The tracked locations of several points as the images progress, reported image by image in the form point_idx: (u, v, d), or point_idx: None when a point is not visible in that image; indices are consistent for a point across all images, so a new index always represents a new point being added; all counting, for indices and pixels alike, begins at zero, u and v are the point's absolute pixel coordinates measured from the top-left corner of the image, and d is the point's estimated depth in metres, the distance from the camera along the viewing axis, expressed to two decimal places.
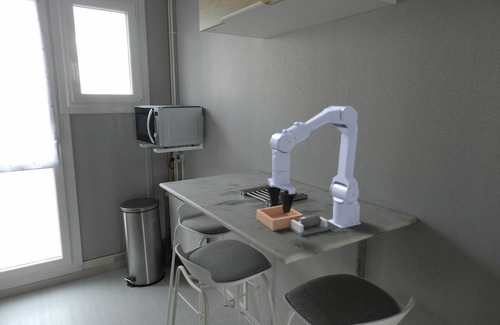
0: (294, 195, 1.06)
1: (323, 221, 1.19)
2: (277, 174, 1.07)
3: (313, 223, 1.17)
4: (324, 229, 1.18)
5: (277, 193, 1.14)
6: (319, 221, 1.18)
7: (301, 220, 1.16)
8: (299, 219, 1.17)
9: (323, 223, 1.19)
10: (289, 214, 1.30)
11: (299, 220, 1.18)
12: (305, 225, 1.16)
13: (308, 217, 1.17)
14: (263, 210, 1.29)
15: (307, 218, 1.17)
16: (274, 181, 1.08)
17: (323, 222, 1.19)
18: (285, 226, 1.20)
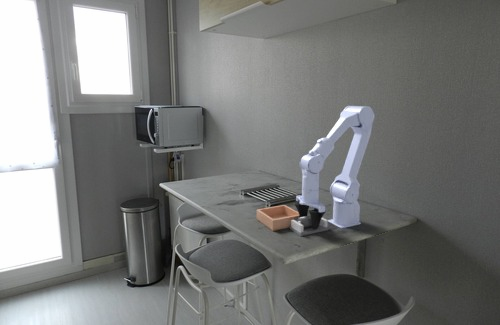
0: (323, 213, 1.13)
1: (323, 221, 1.19)
2: (307, 193, 1.14)
3: None
4: (324, 229, 1.18)
5: (306, 210, 1.21)
6: None
7: (300, 219, 1.17)
8: (298, 219, 1.18)
9: (323, 223, 1.19)
10: (289, 214, 1.30)
11: (298, 220, 1.18)
12: (304, 224, 1.16)
13: (307, 216, 1.18)
14: (263, 210, 1.29)
15: (306, 217, 1.18)
16: (304, 199, 1.15)
17: (323, 222, 1.19)
18: (285, 226, 1.20)
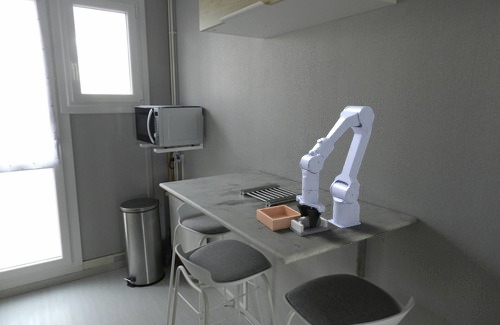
0: (320, 211, 1.14)
1: (323, 221, 1.19)
2: (307, 193, 1.14)
3: None
4: (324, 229, 1.18)
5: None
6: (319, 221, 1.18)
7: (301, 220, 1.16)
8: (299, 219, 1.17)
9: (323, 223, 1.19)
10: (289, 214, 1.30)
11: (299, 220, 1.17)
12: (305, 225, 1.16)
13: (308, 217, 1.17)
14: (263, 210, 1.29)
15: (307, 218, 1.17)
16: (304, 199, 1.15)
17: (323, 222, 1.19)
18: (285, 226, 1.20)
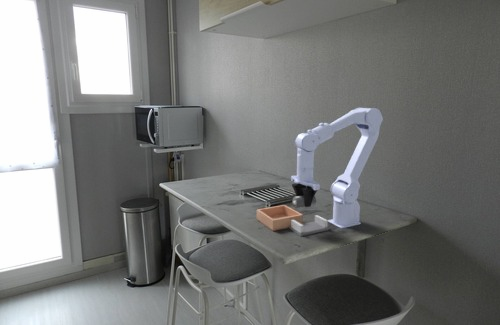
0: (315, 190, 1.14)
1: (323, 221, 1.19)
2: (302, 172, 1.14)
3: None
4: (324, 229, 1.18)
5: (303, 191, 1.20)
6: (314, 200, 1.18)
7: (296, 199, 1.16)
8: (294, 198, 1.17)
9: (323, 223, 1.19)
10: (289, 214, 1.30)
11: (294, 199, 1.17)
12: (300, 204, 1.15)
13: (303, 196, 1.17)
14: (263, 210, 1.29)
15: (302, 197, 1.17)
16: (299, 178, 1.15)
17: (323, 222, 1.19)
18: (285, 226, 1.20)
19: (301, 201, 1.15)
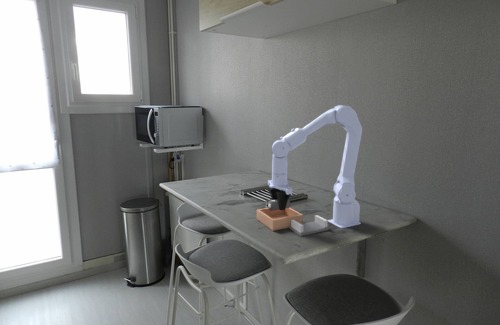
0: (289, 194, 1.21)
1: (323, 221, 1.19)
2: (276, 177, 1.20)
3: None
4: (324, 229, 1.18)
5: None
6: (288, 204, 1.24)
7: (271, 202, 1.23)
8: (269, 202, 1.24)
9: (323, 223, 1.19)
10: (289, 214, 1.30)
11: (269, 203, 1.24)
12: (274, 207, 1.22)
13: None
14: (263, 210, 1.29)
15: (276, 200, 1.23)
16: (273, 183, 1.22)
17: (323, 222, 1.19)
18: (285, 226, 1.20)
19: (275, 204, 1.22)
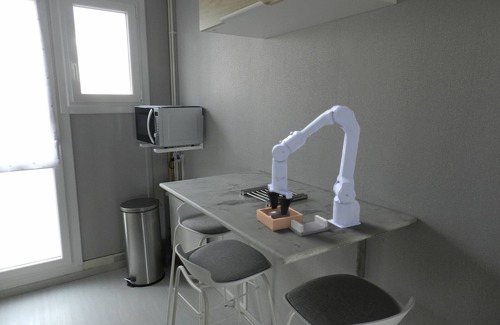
0: (291, 199, 1.20)
1: (323, 221, 1.19)
2: (276, 181, 1.21)
3: None
4: (324, 229, 1.18)
5: (276, 197, 1.28)
6: (288, 216, 1.25)
7: (271, 214, 1.23)
8: (269, 213, 1.25)
9: (323, 223, 1.19)
10: None
11: (269, 214, 1.25)
12: None
13: (278, 212, 1.25)
14: (263, 210, 1.29)
15: (277, 212, 1.24)
16: (273, 187, 1.22)
17: (323, 222, 1.19)
18: (285, 226, 1.20)
19: (275, 216, 1.23)
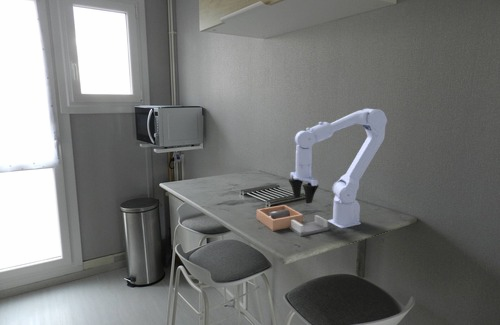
0: (316, 187, 1.17)
1: (323, 221, 1.19)
2: (300, 168, 1.18)
3: None
4: (324, 229, 1.18)
5: (299, 186, 1.25)
6: (288, 216, 1.25)
7: (271, 215, 1.23)
8: (269, 213, 1.25)
9: (323, 223, 1.19)
10: None
11: (269, 214, 1.25)
12: None
13: (278, 212, 1.24)
14: (263, 210, 1.29)
15: (277, 212, 1.24)
16: (297, 174, 1.19)
17: (323, 222, 1.19)
18: (285, 226, 1.20)
19: (276, 217, 1.23)
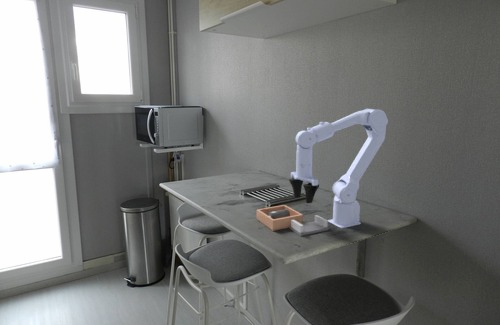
0: (316, 187, 1.17)
1: (323, 221, 1.19)
2: (301, 168, 1.18)
3: (282, 217, 1.24)
4: (324, 229, 1.18)
5: (299, 185, 1.25)
6: (288, 215, 1.25)
7: (271, 214, 1.24)
8: (269, 213, 1.25)
9: (323, 223, 1.19)
10: None
11: (269, 214, 1.25)
12: None
13: (277, 211, 1.25)
14: (263, 210, 1.29)
15: (276, 212, 1.24)
16: (298, 174, 1.19)
17: (323, 222, 1.19)
18: (285, 226, 1.20)
19: (275, 216, 1.23)
